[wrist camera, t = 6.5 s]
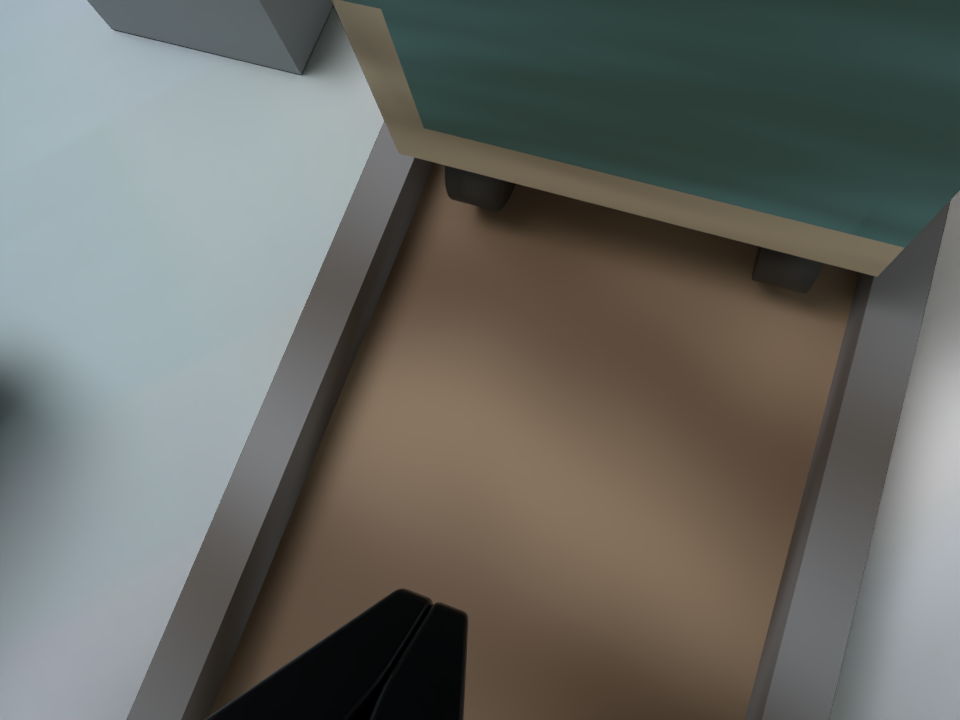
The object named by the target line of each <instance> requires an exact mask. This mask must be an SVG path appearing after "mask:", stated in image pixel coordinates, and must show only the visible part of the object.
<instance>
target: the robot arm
mask: <svg viewBox="0 0 960 720" xmlns="http://www.w3.org/2000/svg"><path fill="white" fill-rule="evenodd" d="M467 640H468V615H467V613H466V612H465V611H463V610H460V609H457V608H455V607H452V606H450V605H447V604H444V603H442V602H436V603H435V604H433V601H432V600H431V599H430V598H429V597H426V596H424V595H421V594H419V593H416V592H413V591H411V590H408V589H405V588H401V589H397V590H395V591H394V592H392V593H391V594H389V595H388V596H386V597H385V598H383V599H382V600H380V601H379V602H377V603H376V604H374V605H373V606H372V607H370V608H369V609H367V610H366V611H364V612H363V613H361V614H360V615H358V616H357V617H355V618H354V619H352V620H351V621H349V622H348V623H346V624H345V625H343V626H342V627H340V628H339V629H338V630H336V631H335V632H333V633H332V634H330V635H329V636H327V637H326V638H324V639H323V640H321V641H320V642H318V643H317V644H315V645H314V646H312V647H311V648H309V649H308V650H306V651H305V652H303V653H302V654H301V655H299V656H298V657H296V658H295V659H293V660H292V661H290V662H289V663H287V664H286V665H284V666H283V667H281V668H280V669H278V670H277V671H275V672H274V673H272V674H271V675H269V676H268V677H267V678H265V679H264V680H262V681H261V682H259V683H258V684H256V685H255V686H253V687H252V688H250V689H249V690H247V691H246V692H244V693H243V694H241V695H240V696H238V697H237V698H235V699H234V700H233V701H231V702H230V703H228V704H227V705H225V706H224V707H222V708H221V709H219V710H218V711H216V712H215V713H213V714H212V715H210V716H209V717H207V718H206V719H204V720H463V719H464V699H465V680H466V660H467Z"/></svg>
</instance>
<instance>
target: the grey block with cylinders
mask: <svg viewBox="0 0 960 720" xmlns="http://www.w3.org/2000/svg"><path fill="white" fill-rule="evenodd" d="M87 1H88V2H89V3H90V4H91V5H92V7H93V8H94V9H95V10H96V11H97V12H98V14H99V15H100V16H101V17H102V18H103V19H104V21H105V22H106V23H107V24H108V25H109V26H110V28H111V29H114V30H118V31H122V32H126V33H130V34H135V35H139V36H143V37H147V38H151V39H155V40H159V41H164V42H168V43H172V44H176V45H180V46H184V47H188V48H193V49H197V50H201V51H205V52H209V53H213V54H217V55H222V56H226V57H230V58H234V59H238V60H242V61H247V62H251V63H255V64H259V65H263V66H267V67H271V68H276V69H280V70H284V71H288V72H292V73H296V74H300V75H301V74H302V72H303V69H304V67H305V65H306V63H307V61H308V59H309V57H310V54H311V52H312V50H313V48H314V46H315V44H316V41H317V39H318V37H319V35H320V33H321V31H322V29H323V26H324V24H325V22H326V20H327V18H328V16H329V14H330V11H331V9H332V7H333V2H332V0H87Z"/></svg>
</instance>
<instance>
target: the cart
mask: <svg viewBox="0 0 960 720" xmlns="http://www.w3.org/2000/svg"><path fill="white" fill-rule="evenodd" d="M332 2H333V5H334V7H335V9H336V11H337V14H338V16H339V18H340V20H341V23H342V25H343V27H344V30H345V32H346V34H347V36H348V39H349V41H350V43H351V46H352V48H353V50H354V52H355V55H356V57H357V59H358V62H359V64H360V66H361V68H362V71H363V73H364V75H365V78H366V80H367V82H368V84H369V87H370V89H371V91H372V93H373V96H374V98H375V100H376V103H377V105H378V107H379V109H380V112H381V114H382V116H383V119H384V121H385V123H386V125H387V128H388V130H389V132H390V135H391V137H392V139H393V141H394V144H395V146H396V148H397V150H398V153H399V154H403V155H407V156H411V157H415V158H419V159H423V160H426V161H430V162H434V163H438V164H442V165H445V187H446V191H447V194H448V196H449V197H450V199H452V200H456V201H459V202H463V203H467V204H471V205H474V206H478V207H482V208H486V209H489V210H493V211H500V210H501V209H502V208H503V207H504V206H505V205H506V203H507V201H508V200H509V198H510V196H511V194H512V192H513V189H514V187H515V185H516V184H519V185H523V186H527V187H531V188H535V189H539V190H543V191H547V192H550V193H554V194H558V195H562V196H566V197H570V198H574V199H578V200H581V201H585V202H589V203H593V204H597V205H601V206H605V207H609V208H612V209H616V210H620V211H624V212H628V213H632V214H636V215H639V216H643V217H647V218H651V219H655V220H659V221H663V222H667V223H670V224H674V225H678V226H682V227H686V228H690V229H694V230H698V231H701V232H705V233H709V234H713V235H717V236H721V237H725V238H729V239H732V240H736V241H740V242H744V243H748V244H752V245H756V246H759V248H758V252H757V255H756V259H755V263H754V267H753V272H752V280H754V281H758V282H762V283H765V284H769V285H773V286H777V287H780V288H784V289H788V290H791V291H795V292H799V293H803V294H806V293H807V292H808V291H809V290H810V289H811V287H812V286H813V284H814V283H815V281H816V279H817V277H818V275H819V273H820V271H821V269H822V267H823V265H824V263H825V264H829V265H833V266H837V267H841V268H845V269H849V270H853V271H856V272H860V273H864V274H868V275H872V276H876V277H878V276H879V274H880V273H881V272H882V271H883V270H884V269H885V268H886V267H887V266H888V265H889V264H890V263H891V262H892V261H893V260H894V259H895V258H896V257H897V256H898V254H899V253H900V252H901V251H902V250H903V249H904V248H905V247H906V246H907V245H908V244H909V243H910V242H911V241H912V240H913V239H914V238H915V237H916V236H917V234H918V233H919V232H920V231H921V230H922V229H923V228H924V227H925V226H926V225H927V224H928V223H929V222H930V221H931V220H932V219H933V218H934V217H935V215H936V214H937V213H938V212H939V211H940V210H941V209H942V208H943V207H944V206H945V205H946V204H947V203H948V202H949V201H950V200H951V199H952V198H953V197H954V195H955V194H956V193H957V192H958V191H959V190H960V0H332Z"/></svg>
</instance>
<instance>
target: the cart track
mask: <svg viewBox="0 0 960 720" xmlns="http://www.w3.org/2000/svg"><path fill="white" fill-rule="evenodd" d="M950 201H951V200H950ZM950 201H949V202H948V203H947V204H946V205H945V206H944V207H943V208H942V209H941V210H940V211H939V212H938V213H937V214H936V215H935V217H934V218H933V219H932V220H931V221H930V222H929V223H928V224H927V225H926V226H925V227H924V228H923V229H922V230H921V231H920V232H919V233H918V234H917V236H916V237H915V238H914V239H913V240H912V241H911V242H910V243H909V244H908V245H907V246H906V247H905V248H904V249H903V250H902V251H901V252H900V253H899V254H898V256H897V257H896V258H895V259H894V260H893V261H892V262H891V263H890V264H889V265H888V266H887V267H886V268H885V269H884V270H883V271H882V272H881V273H880V274H879V276H878V277H876V276H872V275H868V274H864V273H860V272H856V271H853V270H849V269H845V268H841V267H837V266H833V265H829V264H825V263H824V265H823V267H822V269H821V271H820V273H819V275H818V277H817V279H816V281H815V283H814V284H813V286H812V287H811V289H810V290H809V291H808V292H807V293H806V294H803V293H799V292H795V291H791V290H788V289H784V288H780V287H777V286H773V285H769V284H765V283H762V282H758V281H754V280H752V272H753V267H754V263H755V259H756V255H757V252H758V248H759V246H756V245H752V244H748V243H744V242H740V241H736V240H732V239H729V238H725V237H721V236H717V235H713V234H709V233H705V232H701V231H698V230H694V229H690V228H686V227H682V226H678V225H674V224H670V223H667V222H663V221H659V220H655V219H651V218H647V217H643V216H639V215H636V214H632V213H628V212H624V211H620V210H616V209H612V208H609V207H605V206H601V205H597V204H593V203H589V202H585V201H581V200H578V199H574V198H570V197H566V196H562V195H558V194H554V193H550V192H547V191H543V190H539V189H535V188H531V187H527V186H523V185H519V184H516V185H515V187H514V189H513V192H512V194H511V196H510V198H509V200H508V201H507V203H506V205H505V206H504V207H503V208H502V209H501V210H500V211H493V210H489V209H486V208H482V207H478V206H474V205H471V204H467V203H463V202H459V201H456V200H452V199H450V197H449V196H448V194H447V191H446V187H445V165H442V164H438V163H434V162H430V161H426V160H423V159H419V158H415V157H411V156H407V155H403V154H399V153H398V150H397V148H396V146H395V144H394V141H393V139H392V137H391V135H390V132H389V130H388V128H387V125H386V123H385V121H384V123H383V125H382V128H381V130H380V132H379V135H378V137H377V139H376V142H375V144H374V146H373V148H372V151H371V153H370V155H369V158H368V160H367V162H366V165H365V167H364V169H363V172H362V174H361V176H360V179H359V181H358V183H357V186H356V188H355V190H354V193H353V195H352V197H351V200H350V202H349V204H348V207H347V209H346V211H345V214H344V216H343V218H342V220H341V223H340V225H339V227H338V230H337V232H336V234H335V237H334V239H333V241H332V244H331V246H330V248H329V251H328V253H327V255H326V258H325V260H324V262H323V265H322V267H321V269H320V272H319V274H318V276H317V279H316V281H315V283H314V286H313V288H312V290H311V292H310V295H309V297H308V299H307V302H306V304H305V306H304V309H303V311H302V313H301V316H300V318H299V320H298V323H297V325H296V327H295V330H294V332H293V334H292V337H291V339H290V341H289V344H288V346H287V348H286V351H285V353H284V355H283V357H282V360H281V362H280V364H279V367H278V369H277V371H276V374H275V376H274V378H273V381H272V383H271V385H270V388H269V390H268V392H267V395H266V397H265V399H264V402H263V404H262V406H261V409H260V411H259V413H258V416H257V418H256V420H255V423H254V425H253V427H252V429H251V432H250V434H249V436H248V439H247V441H246V443H245V446H244V448H243V450H242V453H241V455H240V457H239V460H238V462H237V464H236V467H235V469H234V471H233V474H232V476H231V478H230V481H229V483H228V485H227V488H226V490H225V492H224V495H223V497H222V499H221V501H220V504H219V506H218V508H217V511H216V513H215V515H214V518H213V520H212V522H211V525H210V527H209V529H208V532H207V534H206V536H205V539H204V541H203V543H202V546H201V548H200V550H199V553H198V555H197V557H196V560H195V562H194V564H193V567H192V569H191V571H190V573H189V576H188V578H187V580H186V583H185V585H184V587H183V590H182V592H181V594H180V597H179V599H178V601H177V604H176V606H175V608H174V611H173V613H172V615H171V618H170V620H169V622H168V625H167V627H166V629H165V632H164V634H163V636H162V638H161V641H160V643H159V645H158V648H157V650H156V652H155V655H154V657H153V659H152V662H151V664H150V666H149V669H148V671H147V673H146V676H145V678H144V680H143V683H142V685H141V687H140V690H139V692H138V694H137V697H136V699H135V701H134V704H133V706H132V708H131V710H130V713H129V715H128V717H127V720H204V719H206V718H207V717H209V716H210V715H212V714H213V713H215V712H216V711H218V710H219V709H221V708H222V707H224V706H225V705H227V704H228V703H230V702H231V701H233V700H234V699H235V698H237V697H238V696H240V695H241V694H243V693H244V692H246V691H247V690H249V689H250V688H252V687H253V686H255V685H256V684H258V683H259V682H261V681H262V680H264V679H265V678H267V677H268V676H269V675H271V674H272V673H274V672H275V671H277V670H278V669H280V668H281V667H283V666H284V665H286V664H287V663H289V662H290V661H292V660H293V659H295V658H296V657H298V656H299V655H301V654H302V653H303V652H305V651H306V650H308V649H309V648H311V647H312V646H314V645H315V644H317V643H318V642H320V641H321V640H323V639H324V638H326V637H327V636H329V635H330V634H332V633H333V632H335V631H336V630H338V629H339V628H340V627H342V626H343V625H345V624H346V623H348V622H349V621H351V620H352V619H354V618H355V617H357V616H358V615H360V614H361V613H363V612H364V611H366V610H367V609H369V608H370V607H372V606H373V605H374V604H376V603H377V602H379V601H380V600H382V599H383V598H385V597H386V596H388V595H389V594H391V593H392V592H394V591H395V590H397V589H401V588H405V589H408V590H411V591H413V592H416V593H419V594H421V595H424V596H426V597H429V598H430V599H431V600H432V601H433V604H435V603H436V602H442V603H444V604H447V605H450V606H452V607H455V608H457V609H460V610H463V611H465V612H466V613H467V615H468V640H467V660H466V680H465V699H464V719H463V720H829V717H830V713H831V709H832V705H833V700H834V696H835V692H836V687H837V683H838V679H839V675H840V670H841V666H842V662H843V658H844V653H845V649H846V645H847V640H848V636H849V632H850V628H851V623H852V619H853V615H854V611H855V606H856V602H857V598H858V594H859V589H860V585H861V581H862V576H863V572H864V568H865V564H866V559H867V555H868V551H869V547H870V542H871V538H872V534H873V529H874V525H875V521H876V517H877V512H878V508H879V504H880V500H881V495H882V491H883V487H884V483H885V478H886V474H887V470H888V465H889V461H890V457H891V453H892V448H893V444H894V440H895V436H896V431H897V427H898V423H899V418H900V414H901V410H902V406H903V401H904V397H905V393H906V389H907V384H908V380H909V376H910V372H911V367H912V363H913V359H914V354H915V350H916V346H917V342H918V337H919V333H920V329H921V325H922V320H923V316H924V312H925V307H926V303H927V299H928V295H929V290H930V286H931V282H932V278H933V273H934V269H935V265H936V261H937V256H938V252H939V248H940V243H941V239H942V235H943V231H944V226H945V222H946V218H947V214H948V209H949V205H950Z"/></svg>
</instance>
